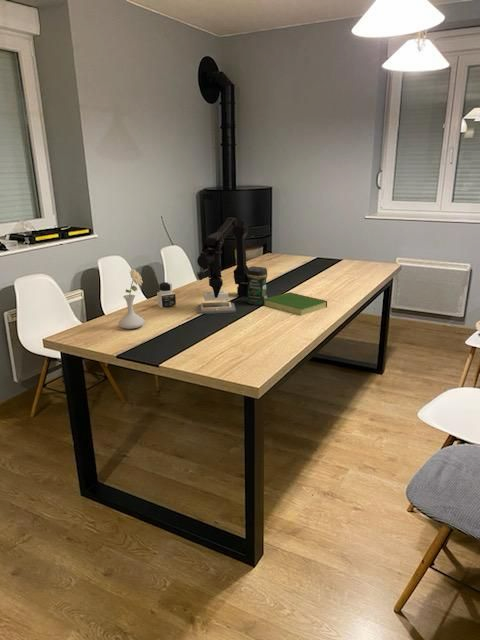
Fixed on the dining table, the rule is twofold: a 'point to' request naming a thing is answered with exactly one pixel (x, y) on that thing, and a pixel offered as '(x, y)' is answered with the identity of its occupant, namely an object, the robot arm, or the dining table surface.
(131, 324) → the flower in vase
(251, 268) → the coffee jar
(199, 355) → the dining table surface
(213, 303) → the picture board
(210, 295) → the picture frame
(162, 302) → the medicine bottle
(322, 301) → the hardcover book
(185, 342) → the dining table surface
